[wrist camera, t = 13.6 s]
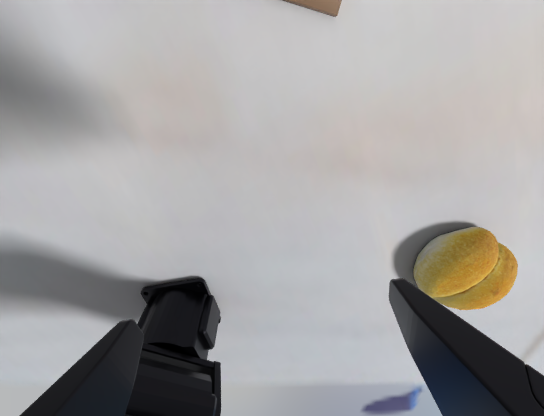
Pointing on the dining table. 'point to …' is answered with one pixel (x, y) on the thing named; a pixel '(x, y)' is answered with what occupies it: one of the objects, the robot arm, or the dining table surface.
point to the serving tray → (320, 5)
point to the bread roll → (465, 269)
